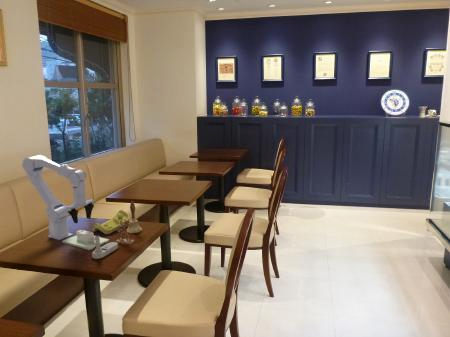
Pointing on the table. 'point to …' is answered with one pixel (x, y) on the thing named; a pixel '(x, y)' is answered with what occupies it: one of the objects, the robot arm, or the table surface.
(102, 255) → the electronic device
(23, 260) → the table surface
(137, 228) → the hand bell
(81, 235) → the grey connector
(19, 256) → the table surface
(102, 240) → the sage board
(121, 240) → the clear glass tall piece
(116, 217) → the plastic component
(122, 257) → the table surface
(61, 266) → the table surface
